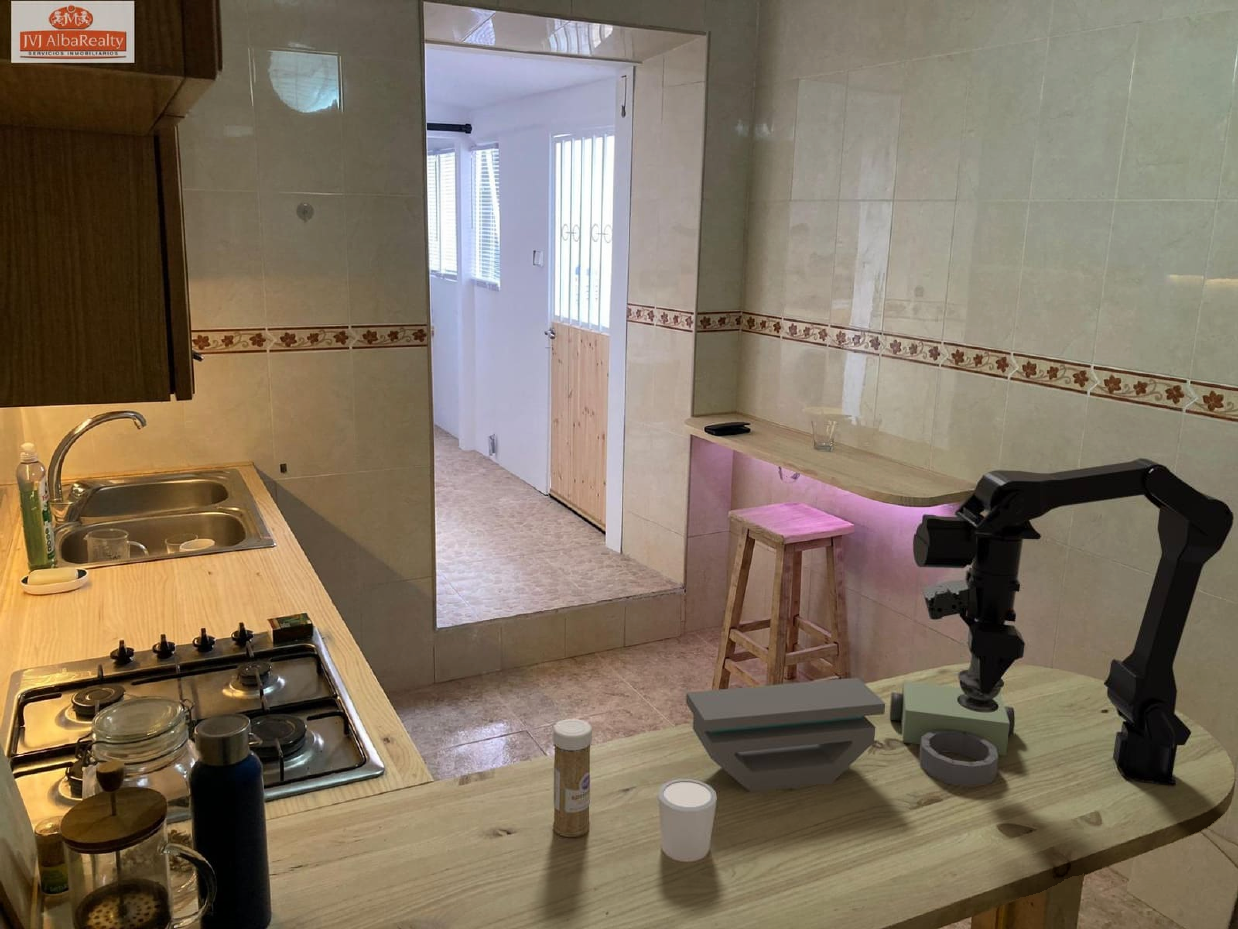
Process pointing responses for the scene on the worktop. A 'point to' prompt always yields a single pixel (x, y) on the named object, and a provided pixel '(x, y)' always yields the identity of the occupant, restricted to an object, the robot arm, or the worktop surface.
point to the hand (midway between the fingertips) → (980, 679)
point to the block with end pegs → (952, 732)
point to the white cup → (686, 818)
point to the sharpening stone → (786, 730)
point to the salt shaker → (976, 690)
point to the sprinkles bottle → (572, 777)
